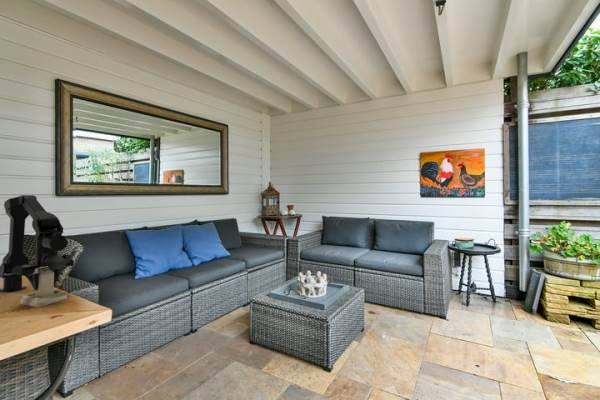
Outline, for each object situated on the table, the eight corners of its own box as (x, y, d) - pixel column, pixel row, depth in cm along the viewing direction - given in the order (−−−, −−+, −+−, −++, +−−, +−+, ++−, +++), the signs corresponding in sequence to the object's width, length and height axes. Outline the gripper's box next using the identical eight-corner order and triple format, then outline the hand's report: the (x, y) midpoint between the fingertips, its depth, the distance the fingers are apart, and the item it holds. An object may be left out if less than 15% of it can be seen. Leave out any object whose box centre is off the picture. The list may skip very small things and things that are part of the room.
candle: (57, 293, 120) (57, 268, 120) (44, 297, 115) (44, 271, 115) (44, 292, 121) (45, 267, 121) (31, 297, 115) (31, 270, 115)
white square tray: (20, 303, 114) (20, 296, 114) (48, 296, 124) (48, 288, 124) (39, 307, 112) (39, 299, 112) (67, 298, 121) (67, 291, 121)
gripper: (33, 253, 107) (32, 297, 107) (84, 246, 125) (83, 284, 125) (11, 251, 110) (10, 294, 110) (64, 244, 128) (63, 281, 128)
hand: (44, 288), depth 118 cm, fingers open, 5 cm apart
